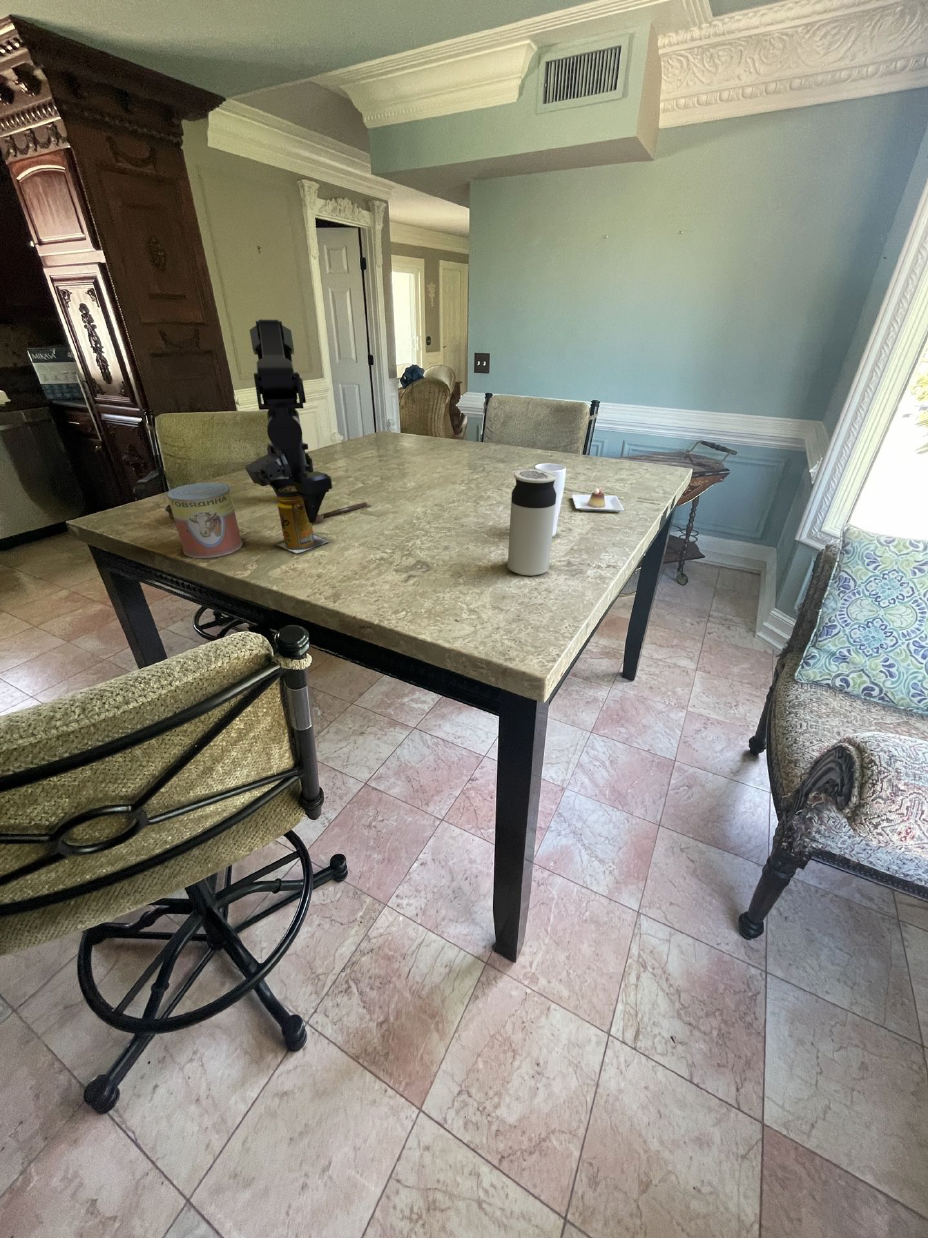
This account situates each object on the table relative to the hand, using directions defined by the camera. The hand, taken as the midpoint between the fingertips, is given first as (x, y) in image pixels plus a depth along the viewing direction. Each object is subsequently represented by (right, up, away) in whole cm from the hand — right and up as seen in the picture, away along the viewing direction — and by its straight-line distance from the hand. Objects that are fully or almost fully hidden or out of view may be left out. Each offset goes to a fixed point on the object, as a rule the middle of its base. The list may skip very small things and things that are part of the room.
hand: (299, 517), depth 104 cm
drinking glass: (+52, -2, +9) cm, 53 cm away
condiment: (0, -5, +3) cm, 6 cm away
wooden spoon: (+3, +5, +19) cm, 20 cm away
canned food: (-18, -6, +1) cm, 19 cm away
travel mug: (+47, -11, -7) cm, 48 cm away
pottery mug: (-29, +2, +15) cm, 33 cm away
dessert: (+69, +8, +27) cm, 74 cm away
